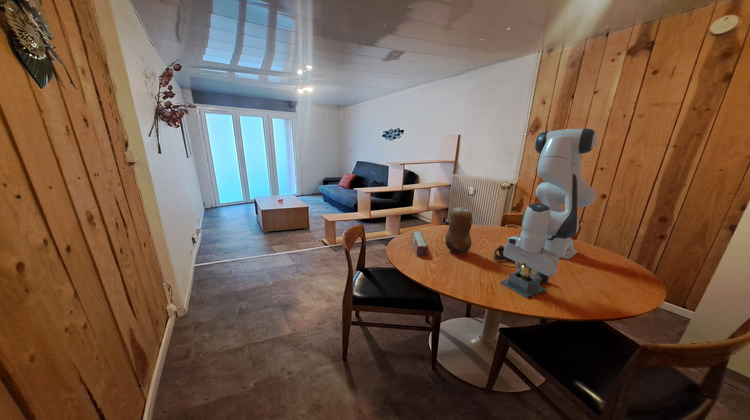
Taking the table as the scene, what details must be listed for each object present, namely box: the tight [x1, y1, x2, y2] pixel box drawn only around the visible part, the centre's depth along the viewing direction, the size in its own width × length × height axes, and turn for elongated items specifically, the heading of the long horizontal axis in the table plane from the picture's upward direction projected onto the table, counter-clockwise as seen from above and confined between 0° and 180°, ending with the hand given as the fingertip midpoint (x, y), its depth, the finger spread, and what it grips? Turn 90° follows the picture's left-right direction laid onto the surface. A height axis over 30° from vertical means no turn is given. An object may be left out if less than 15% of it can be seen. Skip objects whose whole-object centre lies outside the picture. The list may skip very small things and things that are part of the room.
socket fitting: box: [500, 271, 550, 299], centre depth 104 cm, size 19×12×5 cm, turn 116°
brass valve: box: [519, 263, 533, 281], centre depth 101 cm, size 5×4×8 cm
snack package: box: [410, 231, 429, 257], centre depth 139 cm, size 21×7×7 cm, turn 179°
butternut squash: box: [445, 207, 473, 255], centre depth 133 cm, size 14×13×25 cm
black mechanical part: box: [493, 245, 515, 263], centre depth 128 cm, size 12×10×8 cm
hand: (525, 275), depth 102 cm, fingers closed on brass valve, 4 cm apart
